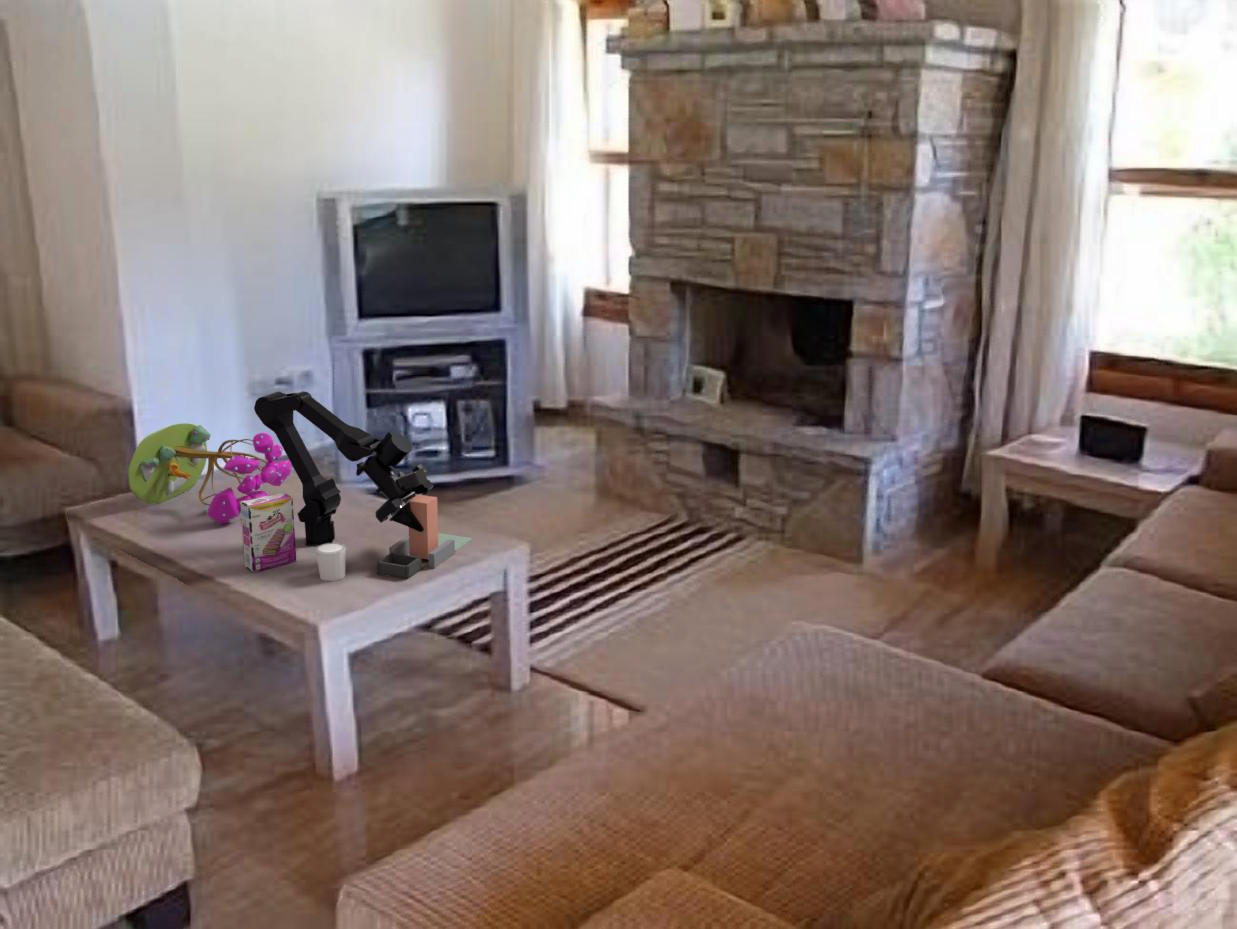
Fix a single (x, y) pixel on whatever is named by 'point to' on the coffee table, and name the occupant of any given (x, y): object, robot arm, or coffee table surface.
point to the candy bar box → (268, 531)
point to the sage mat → (458, 540)
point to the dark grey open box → (399, 565)
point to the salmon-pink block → (424, 526)
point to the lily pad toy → (201, 468)
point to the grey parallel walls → (434, 556)
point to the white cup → (331, 561)
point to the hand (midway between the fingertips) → (428, 527)
